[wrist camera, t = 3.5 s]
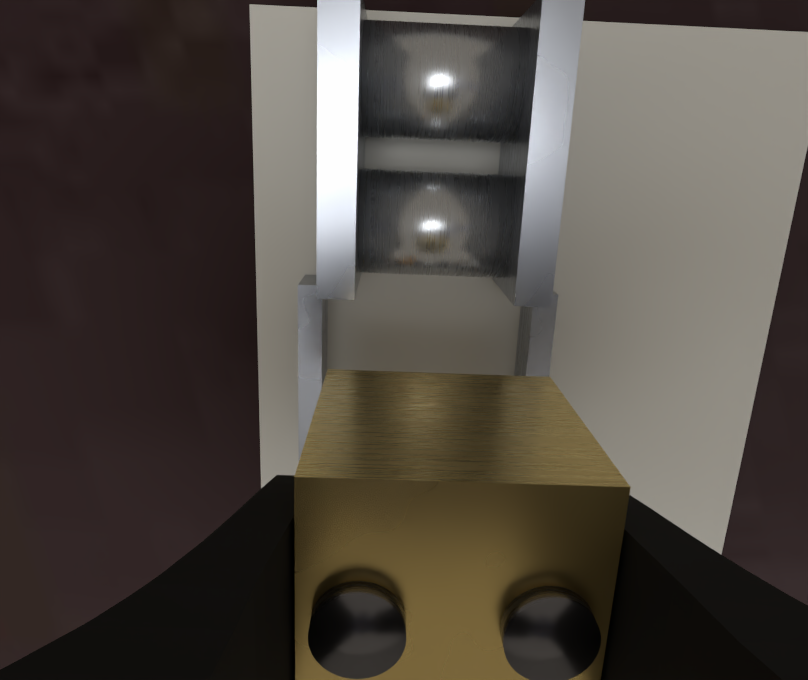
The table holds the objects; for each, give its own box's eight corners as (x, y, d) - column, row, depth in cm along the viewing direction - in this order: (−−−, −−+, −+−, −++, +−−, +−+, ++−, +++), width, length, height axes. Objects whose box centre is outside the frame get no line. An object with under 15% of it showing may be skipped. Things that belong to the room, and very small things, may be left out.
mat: (823, 35, 16) (831, 33, 15) (697, 639, 21) (702, 645, 20) (252, 7, 15) (249, 4, 15) (266, 629, 20) (264, 636, 20)
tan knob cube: (529, 568, 12) (596, 770, 8) (325, 562, 12) (291, 765, 8) (549, 376, 11) (640, 500, 7) (327, 369, 11) (289, 490, 7)
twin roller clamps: (572, 32, 15) (622, -3, 12) (508, 635, 20) (531, 731, 17) (305, 18, 15) (279, -22, 12) (305, 630, 20) (288, 726, 17)
